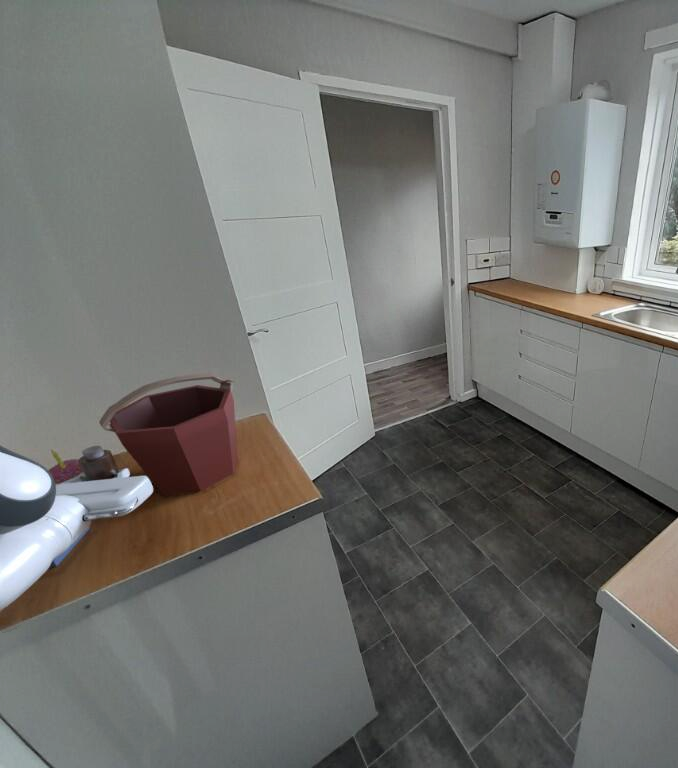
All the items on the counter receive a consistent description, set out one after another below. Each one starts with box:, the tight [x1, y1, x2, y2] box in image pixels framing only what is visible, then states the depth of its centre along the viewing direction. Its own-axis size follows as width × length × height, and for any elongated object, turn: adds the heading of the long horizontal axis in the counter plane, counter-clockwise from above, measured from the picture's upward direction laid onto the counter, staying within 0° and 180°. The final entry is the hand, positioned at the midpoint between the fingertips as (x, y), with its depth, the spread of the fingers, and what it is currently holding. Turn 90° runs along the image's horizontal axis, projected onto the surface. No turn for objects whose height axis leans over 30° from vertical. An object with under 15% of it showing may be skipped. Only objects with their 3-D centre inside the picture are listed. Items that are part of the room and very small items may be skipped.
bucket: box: [98, 372, 238, 496], centre depth 95 cm, size 24×22×25 cm
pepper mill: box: [78, 445, 119, 481], centre depth 78 cm, size 4×4×14 cm
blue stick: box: [48, 527, 91, 569], centre depth 77 cm, size 10×2×2 cm, turn 18°
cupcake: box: [47, 449, 83, 484], centre depth 92 cm, size 9×8×12 cm
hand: (106, 473), depth 78 cm, fingers closed on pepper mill, 4 cm apart
